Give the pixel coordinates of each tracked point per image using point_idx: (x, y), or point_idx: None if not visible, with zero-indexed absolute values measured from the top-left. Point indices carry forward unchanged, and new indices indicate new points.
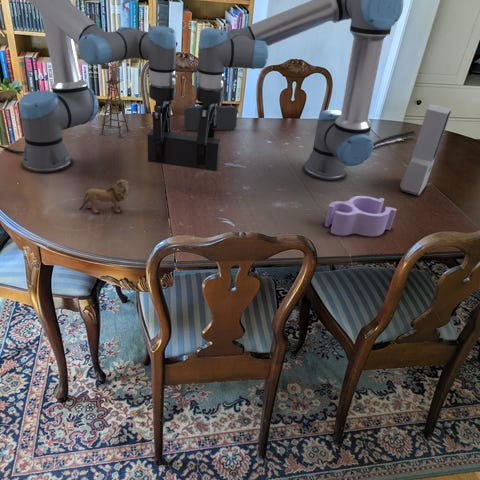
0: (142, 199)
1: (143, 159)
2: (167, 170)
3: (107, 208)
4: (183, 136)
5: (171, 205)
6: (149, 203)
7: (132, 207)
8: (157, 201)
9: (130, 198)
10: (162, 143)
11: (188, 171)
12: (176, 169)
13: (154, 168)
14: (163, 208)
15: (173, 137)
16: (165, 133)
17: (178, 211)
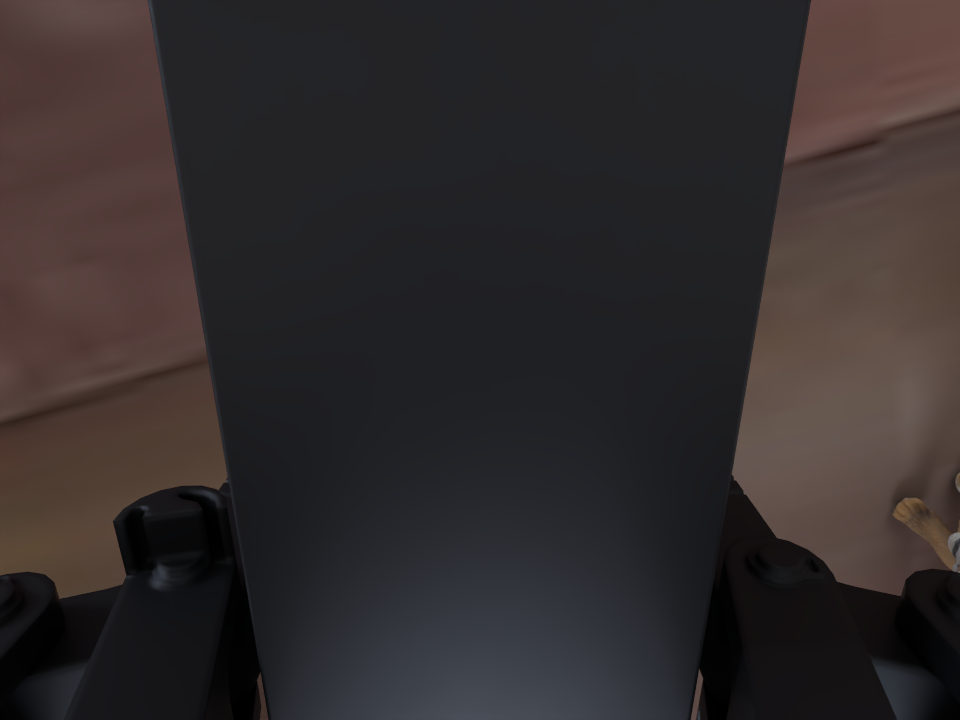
0: (754, 376)
1: (62, 555)
2: (162, 328)
3: (914, 545)
4: (459, 29)
5: (832, 117)
6: (814, 308)
7: (890, 406)
8: (772, 256)
9: (750, 457)
10: (812, 555)
11: (78, 128)
12: (98, 256)
13: (179, 438)
14: (893, 174)
15: (686, 392)
16: (420, 676)
17: (944, 20)
